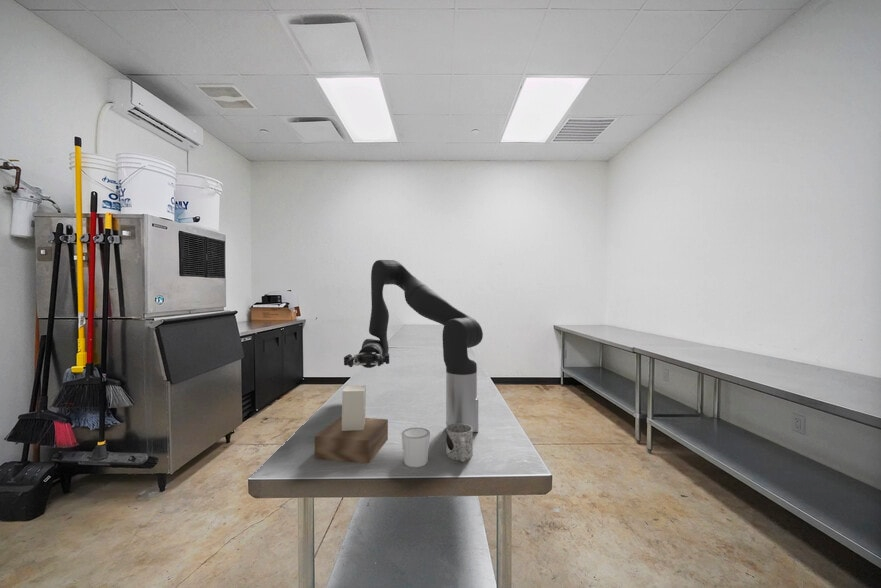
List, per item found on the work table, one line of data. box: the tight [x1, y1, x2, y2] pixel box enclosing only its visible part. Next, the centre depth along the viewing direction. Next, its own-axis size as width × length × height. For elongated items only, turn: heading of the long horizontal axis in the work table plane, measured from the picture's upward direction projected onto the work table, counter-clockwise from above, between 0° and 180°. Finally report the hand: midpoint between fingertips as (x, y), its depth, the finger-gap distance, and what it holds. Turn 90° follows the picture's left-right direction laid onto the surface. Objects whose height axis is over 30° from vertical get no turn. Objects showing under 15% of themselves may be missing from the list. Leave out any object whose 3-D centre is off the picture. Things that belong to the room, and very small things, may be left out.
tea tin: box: [341, 385, 367, 431], centre depth 90 cm, size 5×5×10 cm
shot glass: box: [401, 427, 431, 468], centre depth 83 cm, size 7×7×7 cm
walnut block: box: [314, 415, 389, 465], centre depth 90 cm, size 14×14×6 cm
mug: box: [445, 423, 474, 463], centre depth 85 cm, size 10×7×7 cm, turn 4°
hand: (364, 363), depth 104 cm, fingers open, 8 cm apart
